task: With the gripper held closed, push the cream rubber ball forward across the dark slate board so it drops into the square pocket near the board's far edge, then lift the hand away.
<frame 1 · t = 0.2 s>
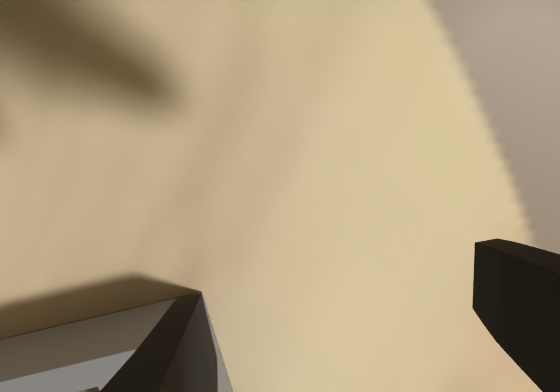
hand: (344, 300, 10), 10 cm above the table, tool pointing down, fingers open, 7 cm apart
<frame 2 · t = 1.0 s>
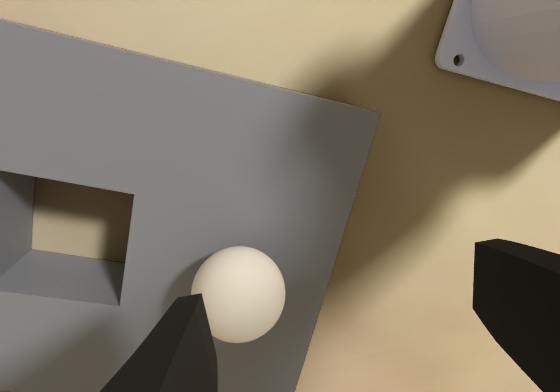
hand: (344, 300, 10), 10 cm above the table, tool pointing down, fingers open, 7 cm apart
deck: (166, 223, 19), on the table
ball: (238, 293, 14), point 5 cm above the table, touching deck
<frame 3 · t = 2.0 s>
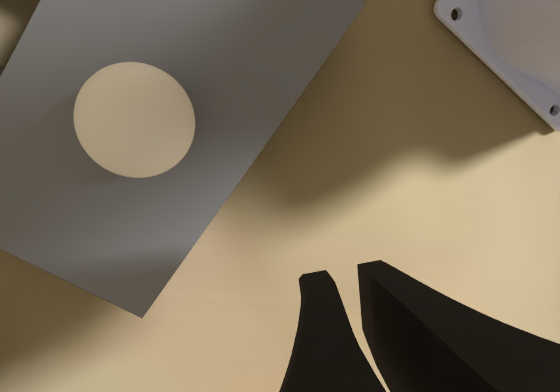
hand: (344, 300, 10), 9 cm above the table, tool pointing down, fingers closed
deck: (91, 55, 16), on the table
ball: (137, 121, 12), point 5 cm above the table, touching deck
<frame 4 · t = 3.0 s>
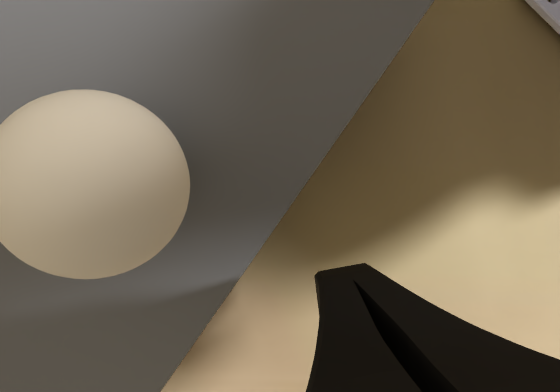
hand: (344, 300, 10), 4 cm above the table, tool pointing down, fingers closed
deck: (43, 73, 11), on the table
ball: (95, 184, 7), point 5 cm above the table, touching deck
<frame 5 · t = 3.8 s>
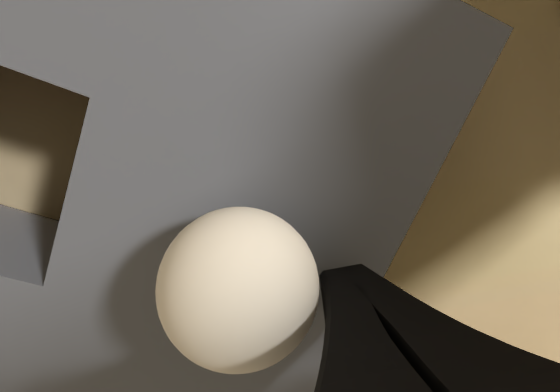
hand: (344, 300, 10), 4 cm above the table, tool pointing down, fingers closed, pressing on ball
deck: (140, 173, 13), on the table
ball: (239, 286, 8), point 5 cm above the table, touching deck, gripper
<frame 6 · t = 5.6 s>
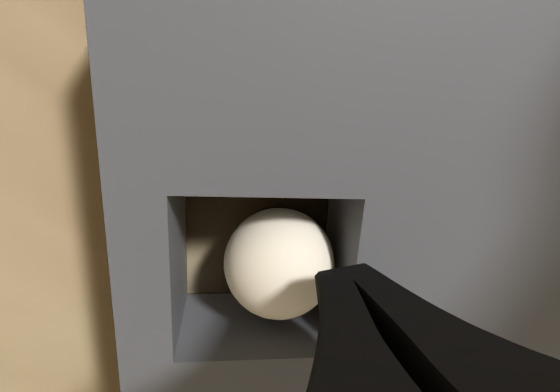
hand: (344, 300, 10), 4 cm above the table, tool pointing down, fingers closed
deck: (351, 232, 14), on the table
ball: (279, 262, 12), point 2 cm above the table, tilted 63°
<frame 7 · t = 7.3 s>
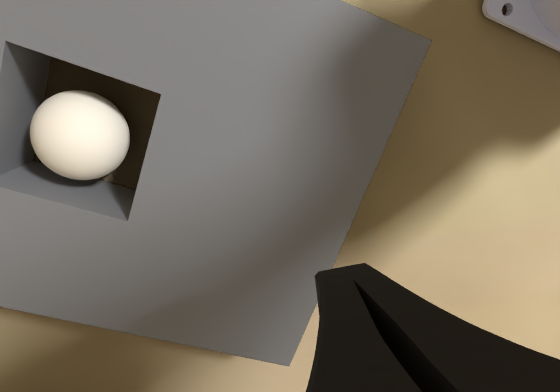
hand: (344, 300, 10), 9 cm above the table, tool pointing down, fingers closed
deck: (182, 149, 17), on the table
ball: (82, 135, 15), point 2 cm above the table, tilted 78°
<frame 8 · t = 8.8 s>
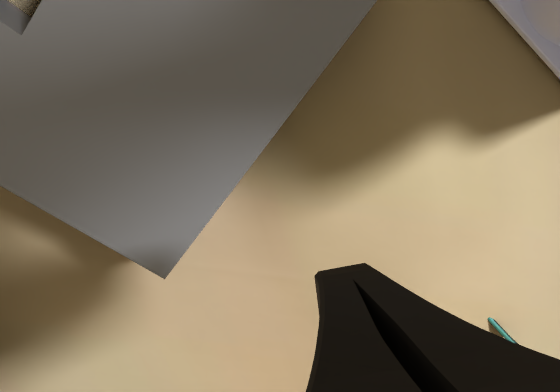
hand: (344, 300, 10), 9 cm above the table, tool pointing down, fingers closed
deck: (121, 6, 15), on the table
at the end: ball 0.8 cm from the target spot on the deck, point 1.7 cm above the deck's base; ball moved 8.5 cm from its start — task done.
